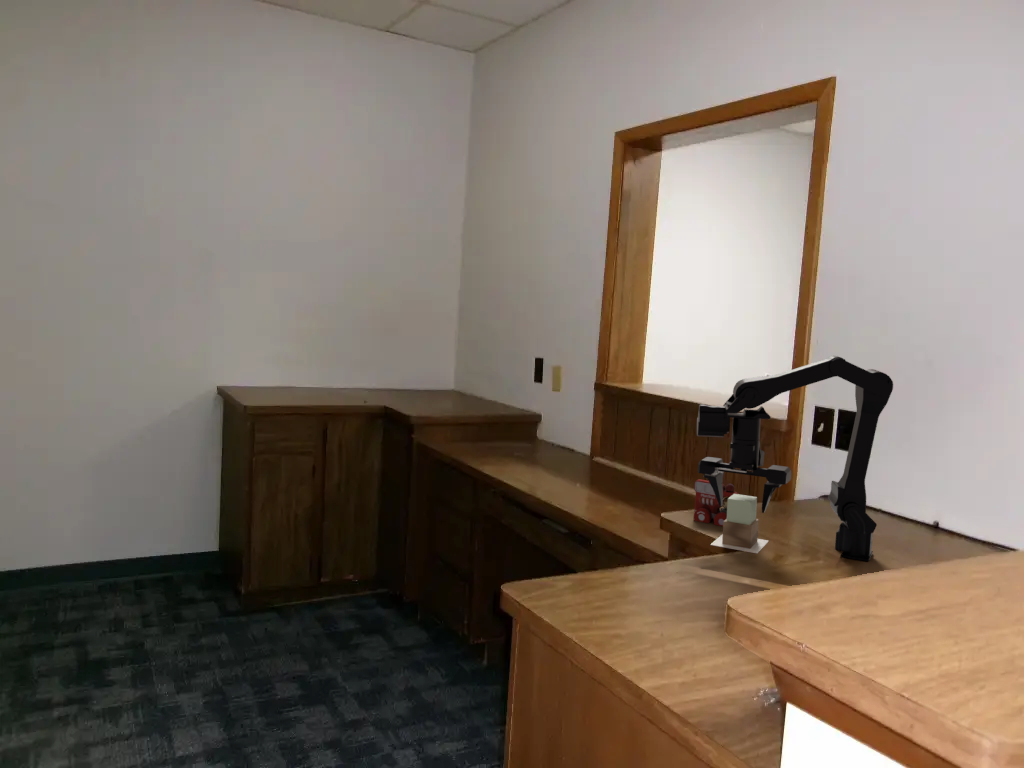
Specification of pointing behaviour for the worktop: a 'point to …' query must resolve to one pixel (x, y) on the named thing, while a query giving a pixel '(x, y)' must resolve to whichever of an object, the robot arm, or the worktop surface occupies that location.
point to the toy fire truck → (710, 503)
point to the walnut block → (740, 534)
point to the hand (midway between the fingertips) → (741, 509)
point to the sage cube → (741, 509)
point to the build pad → (754, 549)
